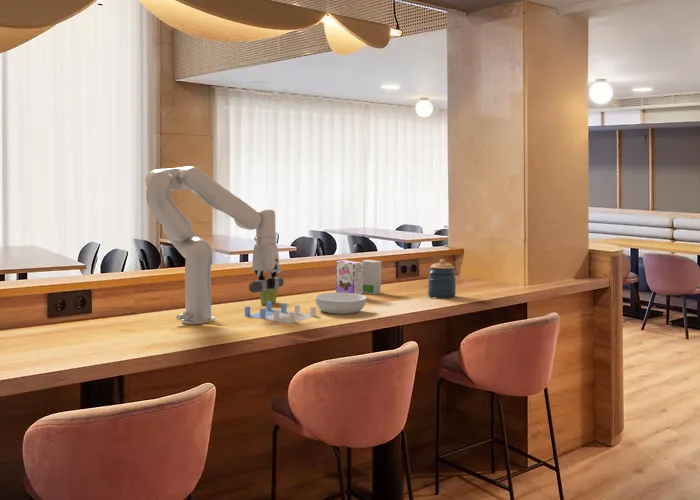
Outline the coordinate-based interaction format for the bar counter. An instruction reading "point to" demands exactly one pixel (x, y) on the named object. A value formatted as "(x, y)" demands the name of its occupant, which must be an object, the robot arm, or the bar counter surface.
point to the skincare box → (371, 276)
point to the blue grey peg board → (280, 313)
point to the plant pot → (268, 296)
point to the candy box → (349, 277)
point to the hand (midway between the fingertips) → (266, 287)
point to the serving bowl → (340, 302)
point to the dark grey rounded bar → (264, 285)
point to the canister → (442, 280)
